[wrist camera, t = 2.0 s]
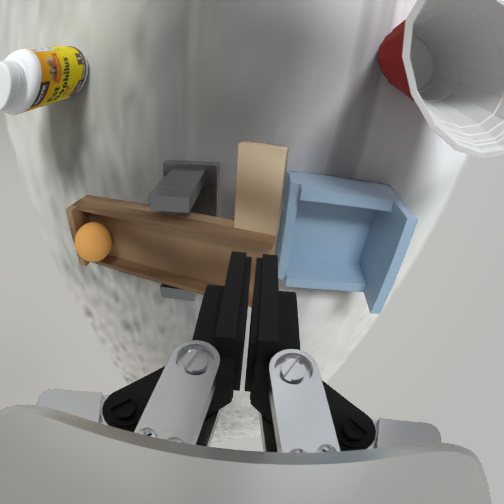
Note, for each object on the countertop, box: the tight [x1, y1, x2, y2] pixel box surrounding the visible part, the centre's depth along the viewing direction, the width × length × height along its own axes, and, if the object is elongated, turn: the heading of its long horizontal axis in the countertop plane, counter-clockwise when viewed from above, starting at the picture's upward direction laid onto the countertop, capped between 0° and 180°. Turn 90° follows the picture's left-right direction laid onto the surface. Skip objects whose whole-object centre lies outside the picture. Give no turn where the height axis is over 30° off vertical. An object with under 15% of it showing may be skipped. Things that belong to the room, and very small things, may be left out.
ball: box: [75, 222, 112, 262], centre depth 24 cm, size 4×4×4 cm
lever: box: [66, 141, 289, 307], centre depth 22 cm, size 13×18×3 cm
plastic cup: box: [379, 0, 504, 158], centre depth 14 cm, size 11×11×12 cm
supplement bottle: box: [0, 46, 88, 115], centre depth 17 cm, size 6×6×10 cm
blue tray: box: [276, 171, 418, 314], centre depth 26 cm, size 10×10×7 cm
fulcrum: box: [149, 161, 219, 301], centre depth 26 cm, size 10×5×7 cm, turn 176°
